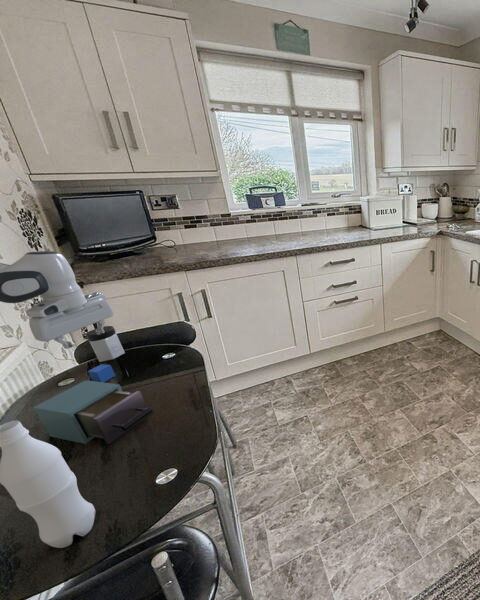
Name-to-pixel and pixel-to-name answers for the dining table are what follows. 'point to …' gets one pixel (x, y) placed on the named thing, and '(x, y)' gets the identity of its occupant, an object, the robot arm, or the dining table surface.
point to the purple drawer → (112, 415)
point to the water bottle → (43, 486)
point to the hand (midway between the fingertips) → (85, 340)
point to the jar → (105, 344)
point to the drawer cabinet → (71, 409)
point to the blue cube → (101, 373)
